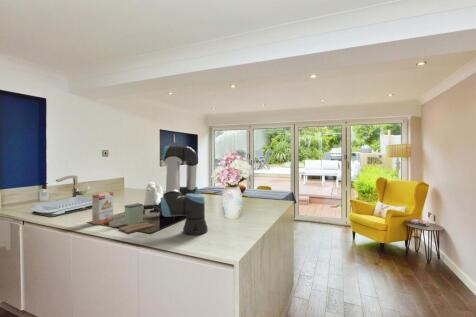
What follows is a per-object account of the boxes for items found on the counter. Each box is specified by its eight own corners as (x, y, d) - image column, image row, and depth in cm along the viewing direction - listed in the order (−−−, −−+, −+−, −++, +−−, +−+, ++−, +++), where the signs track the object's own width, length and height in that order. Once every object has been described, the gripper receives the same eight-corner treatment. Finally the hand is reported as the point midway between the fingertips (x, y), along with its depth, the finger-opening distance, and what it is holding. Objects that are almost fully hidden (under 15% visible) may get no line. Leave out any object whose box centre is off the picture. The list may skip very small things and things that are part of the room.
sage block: (142, 222, 172) (142, 204, 172) (129, 225, 164) (129, 206, 164) (138, 220, 176) (138, 203, 175) (124, 224, 168) (124, 205, 167)
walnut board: (155, 226, 161) (155, 224, 161) (129, 233, 147) (128, 232, 147) (144, 223, 169) (144, 221, 169) (118, 229, 155) (118, 228, 155)
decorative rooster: (154, 213, 197) (153, 183, 196) (139, 211, 203) (138, 182, 202) (172, 206, 220) (172, 179, 220) (158, 205, 226) (158, 179, 225)
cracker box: (99, 225, 165) (99, 194, 165) (92, 224, 166) (91, 194, 166) (113, 219, 179) (113, 191, 178) (106, 219, 180) (106, 191, 180)
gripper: (175, 213, 183) (149, 219, 166) (156, 208, 199) (131, 213, 182) (175, 203, 183) (149, 208, 166) (156, 199, 198) (131, 203, 182)
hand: (140, 211), depth 174 cm, fingers open, 13 cm apart
